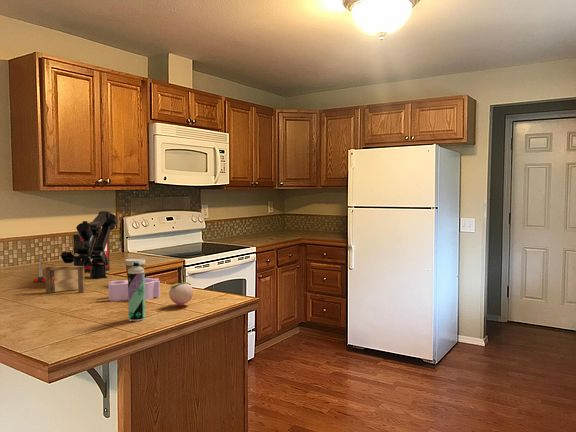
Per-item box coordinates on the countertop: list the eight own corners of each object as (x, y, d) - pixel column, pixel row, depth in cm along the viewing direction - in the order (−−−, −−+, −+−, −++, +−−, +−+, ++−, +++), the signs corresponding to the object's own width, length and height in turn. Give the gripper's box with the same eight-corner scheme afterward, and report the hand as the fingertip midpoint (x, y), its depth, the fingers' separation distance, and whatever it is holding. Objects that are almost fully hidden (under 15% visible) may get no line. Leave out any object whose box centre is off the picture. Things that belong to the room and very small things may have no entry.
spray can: (130, 317, 164) (129, 261, 163) (146, 317, 164) (145, 260, 163) (126, 321, 159) (125, 263, 157) (143, 321, 159) (142, 263, 158)
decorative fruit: (181, 310, 174) (180, 283, 173) (165, 307, 178) (165, 281, 178) (198, 304, 182) (198, 279, 181) (183, 302, 186) (182, 277, 186)
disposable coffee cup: (150, 283, 222) (150, 258, 221) (136, 287, 213) (135, 261, 213) (134, 282, 226) (134, 257, 225) (120, 285, 217) (119, 260, 217)
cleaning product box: (109, 270, 259) (108, 234, 258) (97, 272, 251) (96, 235, 250) (86, 268, 265) (85, 233, 264) (74, 270, 257) (73, 234, 256)
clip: (108, 303, 185) (108, 286, 185) (109, 296, 197) (109, 280, 196) (160, 299, 192) (160, 282, 191) (158, 293, 203) (158, 277, 203)
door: (52, 291, 202) (51, 270, 201) (51, 291, 204) (50, 269, 203) (79, 288, 209) (78, 267, 208) (78, 287, 210) (77, 266, 210)
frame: (45, 293, 202) (44, 267, 201) (47, 292, 204) (47, 266, 203) (83, 292, 202) (82, 266, 202) (84, 291, 204) (84, 266, 204)
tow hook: (44, 279, 235) (31, 282, 226) (44, 253, 235) (31, 255, 226) (59, 279, 234) (47, 282, 225) (59, 254, 234) (47, 256, 225)
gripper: (61, 234, 216) (51, 261, 206) (102, 234, 217) (94, 261, 207) (69, 249, 224) (59, 276, 214) (108, 249, 225) (101, 275, 215)
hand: (78, 272), depth 212 cm, fingers closed
